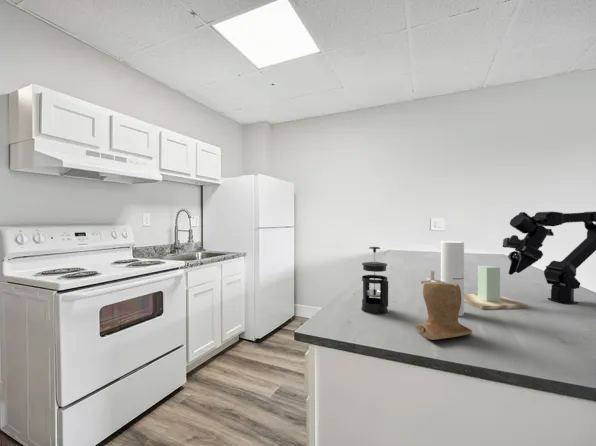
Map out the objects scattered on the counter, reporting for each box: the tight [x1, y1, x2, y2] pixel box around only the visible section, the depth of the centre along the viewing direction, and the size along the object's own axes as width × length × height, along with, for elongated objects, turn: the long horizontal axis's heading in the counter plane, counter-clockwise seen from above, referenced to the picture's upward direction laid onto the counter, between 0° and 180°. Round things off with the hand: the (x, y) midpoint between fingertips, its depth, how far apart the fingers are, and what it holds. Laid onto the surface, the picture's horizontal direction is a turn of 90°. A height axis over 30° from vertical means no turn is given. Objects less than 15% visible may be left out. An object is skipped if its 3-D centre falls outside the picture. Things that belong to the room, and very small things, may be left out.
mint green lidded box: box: [477, 265, 501, 301], centre depth 111 cm, size 5×5×13 cm
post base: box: [464, 293, 528, 310], centre depth 112 cm, size 18×16×5 cm
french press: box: [361, 246, 389, 315], centre depth 102 cm, size 12×9×23 cm
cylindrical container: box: [440, 240, 465, 317], centre depth 99 cm, size 7×7×25 cm
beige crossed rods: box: [419, 269, 441, 285], centre depth 126 cm, size 10×10×10 cm
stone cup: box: [415, 282, 473, 341], centre depth 81 cm, size 15×12×15 cm
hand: (513, 273), depth 111 cm, fingers open, 9 cm apart
